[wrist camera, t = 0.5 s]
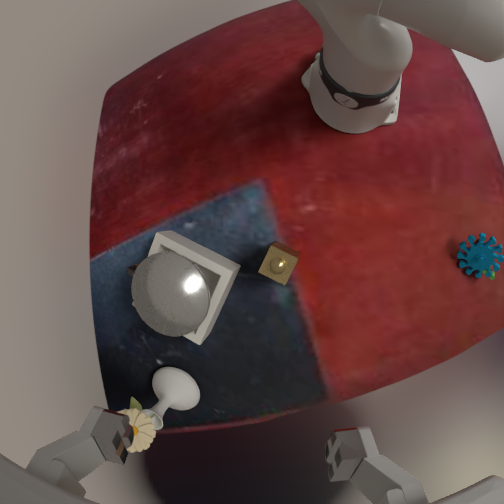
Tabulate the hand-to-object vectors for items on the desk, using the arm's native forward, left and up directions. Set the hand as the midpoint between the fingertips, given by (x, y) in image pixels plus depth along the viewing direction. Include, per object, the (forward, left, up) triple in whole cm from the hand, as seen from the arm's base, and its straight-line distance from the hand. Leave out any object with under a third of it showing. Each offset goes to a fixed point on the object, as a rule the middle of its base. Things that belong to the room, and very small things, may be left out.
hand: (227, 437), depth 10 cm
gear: (-18, +32, -43) cm, 56 cm away
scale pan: (+12, -16, -38) cm, 43 cm away
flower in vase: (+35, -10, -43) cm, 56 cm away
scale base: (+12, -15, -43) cm, 47 cm away
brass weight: (0, -2, -43) cm, 43 cm away
